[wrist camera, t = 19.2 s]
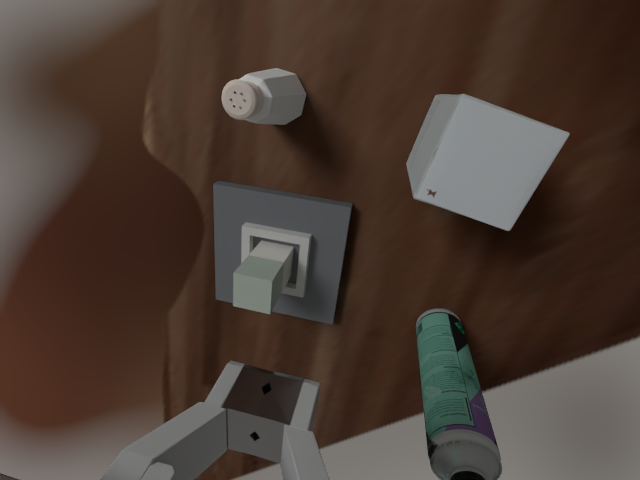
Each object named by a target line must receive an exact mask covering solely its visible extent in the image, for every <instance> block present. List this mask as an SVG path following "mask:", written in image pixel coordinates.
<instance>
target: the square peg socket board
mask: <svg viewBox="0 0 640 480" xmlns="http://www.w3.org/2000/svg"><path fill="white" fill-rule="evenodd" d="M213 193H214V238H215V282H216V299H217V300H221V301H226V302H230V303H233V273H234V272H235V270H236V269H237V268H238V267H239V266H240V265H241V264H242V262H243V261H244V260H245V259H246V258H247V257H248V255H249V254H250V253H251V252H252V251H253V250H254V248H255V247H256V246H257V245H258V244H259V243H260V242H261V240H262V241H267V242H272V243H277V244H282V245H288V246H293V247H294V249H293V260H292V271H291V277H290V278H289V280H288V282H287V284H286V286H285V288H284V290H283V291H282V293H281V295H280V297H279V299H278V301H277V302H276V304H275V306H274V308H273V310H272V312H277V313H281V314H286V315H290V316H295V317H300V318H304V319H309V320H313V321H318V322H323V323H327V324H332V325H333V321H334V317H335V311H336V305H337V298H338V292H339V286H340V280H341V274H342V267H343V261H344V255H345V249H346V242H347V236H348V230H349V224H350V218H351V211H352V205H353V203H348V202H342V201H336V200H330V199H324V198H318V197H313V196H307V195H301V194H295V193H289V192H283V191H277V190H271V189H265V188H259V187H253V186H248V185H242V184H236V183H230V182H224V181H218V182H216V183H214V184H213Z"/></svg>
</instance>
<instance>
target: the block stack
mask: <svg viewBox="0 0 640 480" xmlns="http://www.w3.org/2000/svg"><path fill="white" fill-rule="evenodd" d="M293 249H294V247H293V246H288V245H282V244H277V243H272V242H267V241H262V240H261V242H260V243H259V244H258V245H257V246H256V247H255V248H254V250H253V251H252V252H251V253H250V254H249V255H248V257H247V258H246V259H245V260H244V261H243V262H242V264H241V265H240V266H239V267H238V268H237V269H236V270H235V272H234V273H233V306H235V307H240V308H244V309H249V310H253V311H258V312H262V313H267V314H270V313H271V312H272V310H273V308H274V306H275V304H276V302H277V301H278V299H279V297H280V295H281V293H282V291H283V290H284V288H285V286H286V284H287V282H288V280H289V278H290V277H291V271H292V260H293Z"/></svg>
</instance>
